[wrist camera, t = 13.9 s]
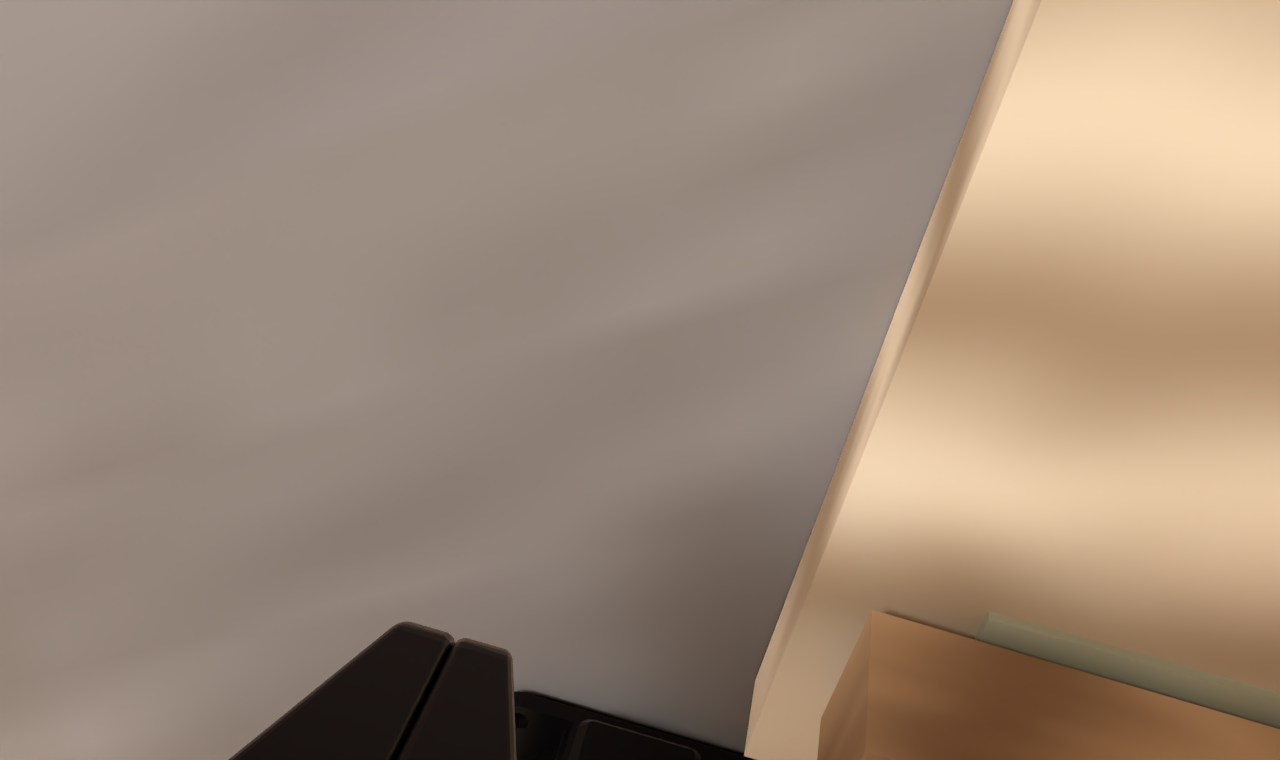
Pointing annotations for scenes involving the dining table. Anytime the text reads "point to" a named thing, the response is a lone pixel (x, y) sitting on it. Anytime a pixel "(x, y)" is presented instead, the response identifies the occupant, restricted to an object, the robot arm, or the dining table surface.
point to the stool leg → (1009, 708)
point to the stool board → (1075, 379)
